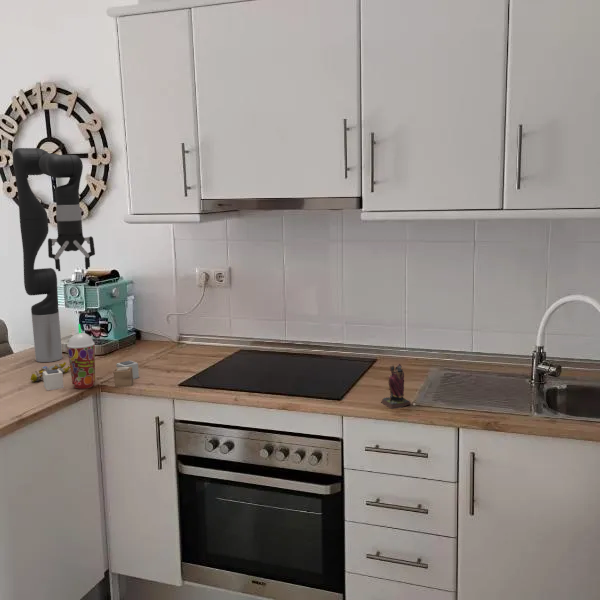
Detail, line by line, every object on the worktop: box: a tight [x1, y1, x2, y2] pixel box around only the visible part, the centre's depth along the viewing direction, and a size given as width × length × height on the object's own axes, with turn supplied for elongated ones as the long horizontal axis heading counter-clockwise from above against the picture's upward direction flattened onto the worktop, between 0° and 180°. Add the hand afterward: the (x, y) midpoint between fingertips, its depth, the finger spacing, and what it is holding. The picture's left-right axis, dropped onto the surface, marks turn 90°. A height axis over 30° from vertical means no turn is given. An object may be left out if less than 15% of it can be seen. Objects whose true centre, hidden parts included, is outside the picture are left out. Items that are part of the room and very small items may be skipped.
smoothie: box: [66, 323, 96, 390], centre depth 219 cm, size 8×8×20 cm
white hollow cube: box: [42, 368, 64, 392], centre depth 220 cm, size 5×5×5 cm
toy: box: [30, 361, 70, 383], centre depth 231 cm, size 5×5×15 cm
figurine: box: [381, 363, 412, 410], centre depth 195 cm, size 6×6×12 cm
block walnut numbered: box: [113, 367, 134, 388], centre depth 221 cm, size 5×5×5 cm
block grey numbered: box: [115, 360, 140, 380], centre depth 228 cm, size 5×5×5 cm
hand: (73, 270), depth 224 cm, fingers open, 8 cm apart
